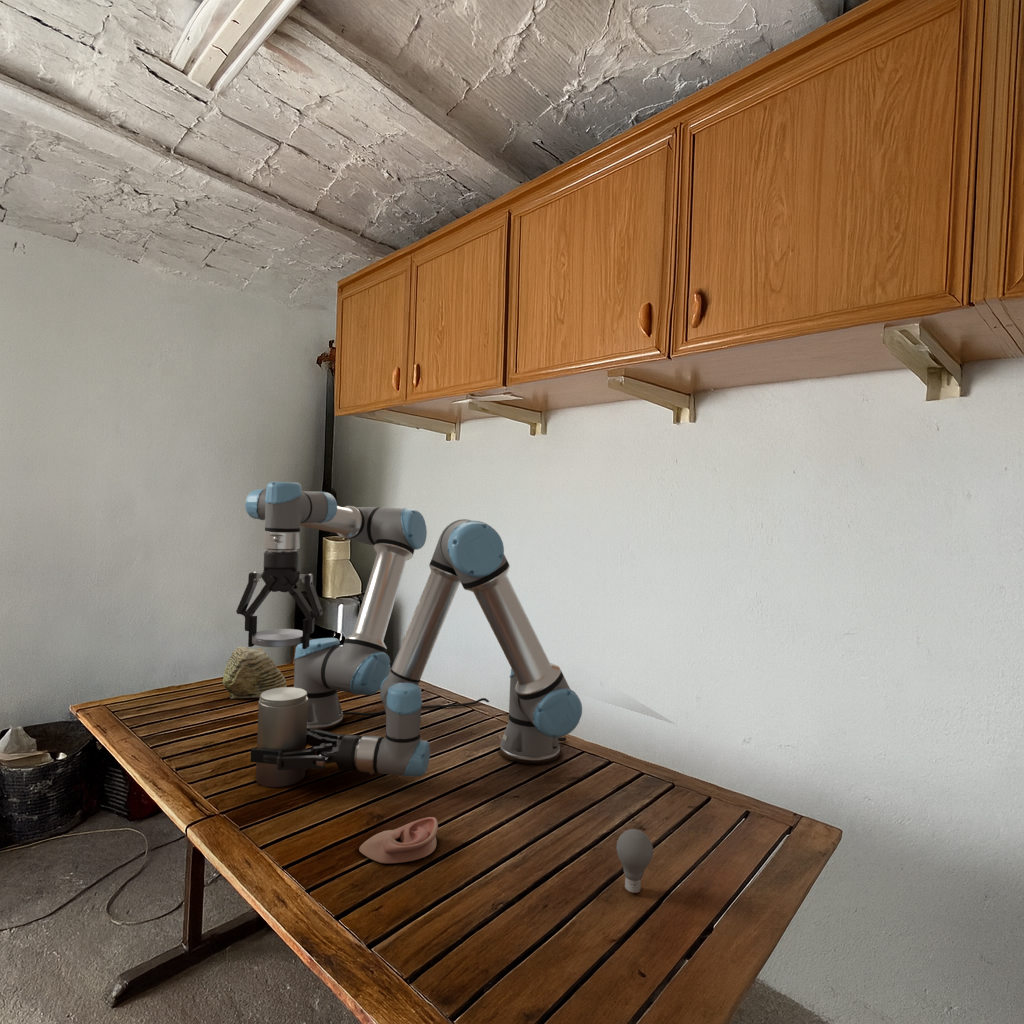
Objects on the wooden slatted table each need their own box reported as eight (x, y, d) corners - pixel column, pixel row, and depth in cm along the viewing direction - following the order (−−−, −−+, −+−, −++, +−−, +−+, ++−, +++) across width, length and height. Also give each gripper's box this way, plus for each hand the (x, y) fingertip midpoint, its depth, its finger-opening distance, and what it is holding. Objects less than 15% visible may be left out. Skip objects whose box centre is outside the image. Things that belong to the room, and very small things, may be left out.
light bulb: (610, 879, 108) (613, 822, 108) (644, 879, 109) (647, 822, 109) (619, 902, 102) (622, 840, 102) (655, 901, 103) (658, 840, 103)
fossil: (218, 695, 195) (220, 647, 195) (278, 685, 208) (279, 640, 207) (228, 703, 189) (230, 653, 188) (289, 692, 201) (290, 645, 201)
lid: (299, 633, 151) (299, 627, 151) (311, 644, 141) (311, 637, 141) (248, 637, 145) (248, 630, 145) (256, 649, 135) (256, 641, 135)
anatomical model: (352, 836, 111) (378, 805, 123) (351, 858, 111) (377, 826, 123) (423, 847, 109) (444, 815, 120) (422, 870, 109) (443, 836, 120)
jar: (263, 791, 135) (266, 703, 135) (250, 773, 143) (253, 690, 143) (311, 780, 141) (314, 696, 141) (296, 763, 150) (299, 684, 149)
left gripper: (221, 549, 139) (218, 648, 139) (329, 554, 139) (326, 652, 139) (236, 546, 146) (233, 640, 147) (339, 551, 146) (336, 644, 147)
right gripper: (339, 793, 129) (236, 784, 131) (374, 750, 152) (286, 742, 154) (340, 757, 129) (237, 748, 131) (376, 719, 152) (287, 712, 154)
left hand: (278, 646), depth 143 cm, fingers closed on lid, 11 cm apart
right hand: (264, 745), depth 143 cm, fingers closed on jar, 10 cm apart
